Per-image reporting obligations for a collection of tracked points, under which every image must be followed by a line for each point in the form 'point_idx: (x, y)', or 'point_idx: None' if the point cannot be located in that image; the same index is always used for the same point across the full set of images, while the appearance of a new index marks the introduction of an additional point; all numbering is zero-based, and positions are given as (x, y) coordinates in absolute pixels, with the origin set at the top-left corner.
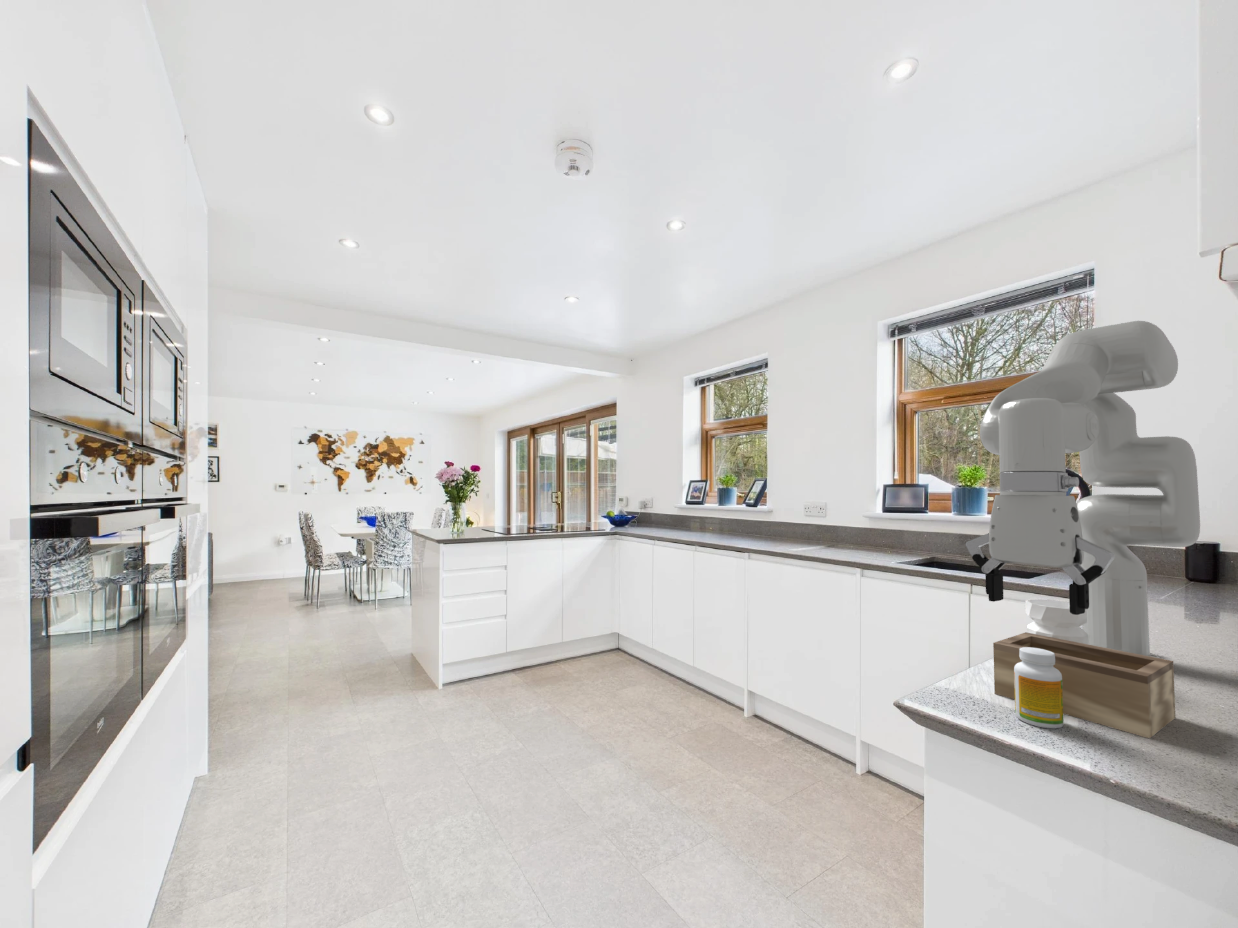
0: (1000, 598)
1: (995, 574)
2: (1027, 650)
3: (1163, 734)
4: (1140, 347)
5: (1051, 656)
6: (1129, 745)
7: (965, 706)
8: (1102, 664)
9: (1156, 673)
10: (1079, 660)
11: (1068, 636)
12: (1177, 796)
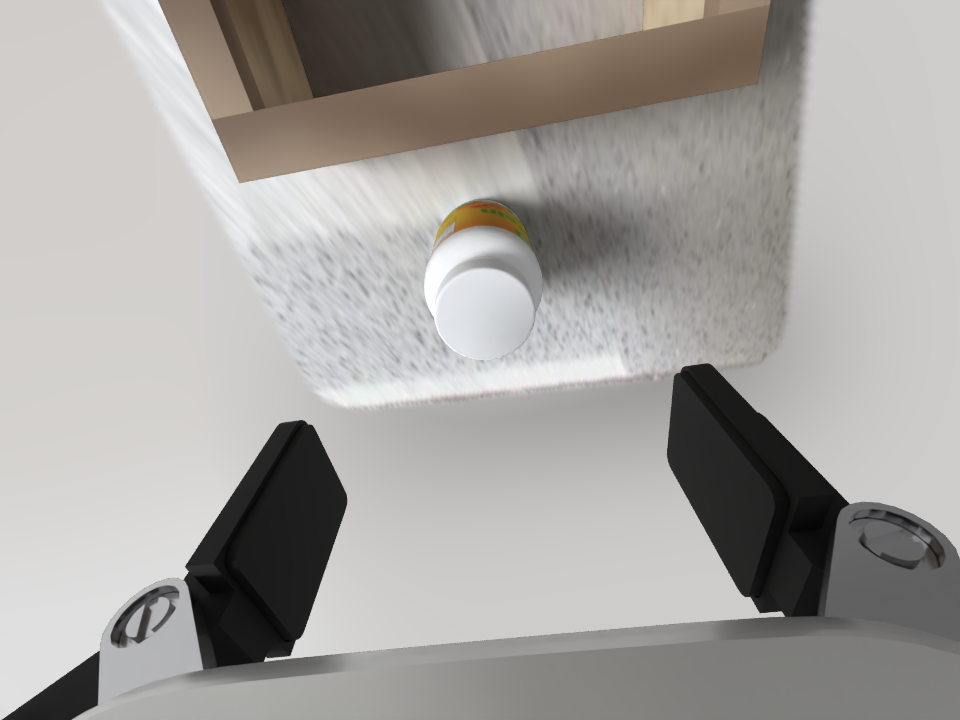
0: (321, 454)
1: (266, 621)
2: (468, 340)
3: None
4: None
5: (534, 321)
6: (640, 196)
7: (368, 316)
8: (605, 68)
9: None
10: (533, 104)
11: None
12: (729, 346)
